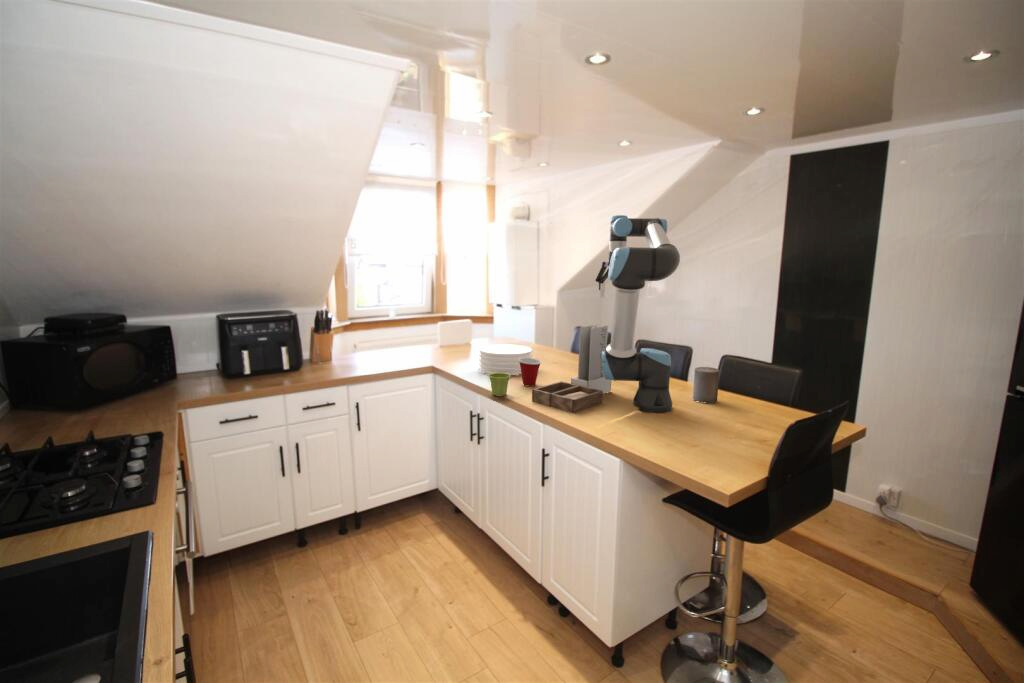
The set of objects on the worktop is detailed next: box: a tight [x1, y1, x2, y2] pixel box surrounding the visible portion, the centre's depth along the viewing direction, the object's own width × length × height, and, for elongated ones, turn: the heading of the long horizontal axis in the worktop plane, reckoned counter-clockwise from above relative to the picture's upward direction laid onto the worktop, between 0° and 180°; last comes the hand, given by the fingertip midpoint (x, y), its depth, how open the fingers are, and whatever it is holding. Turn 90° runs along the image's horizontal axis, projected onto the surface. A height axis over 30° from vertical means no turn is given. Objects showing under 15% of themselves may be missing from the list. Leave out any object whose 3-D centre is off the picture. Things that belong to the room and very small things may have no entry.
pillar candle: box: [692, 365, 720, 404], centre depth 193 cm, size 10×10×15 cm
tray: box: [531, 380, 604, 414], centre depth 185 cm, size 21×19×6 cm
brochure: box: [577, 324, 609, 381], centre depth 199 cm, size 14×6×30 cm, turn 140°
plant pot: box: [488, 373, 511, 397], centre depth 198 cm, size 9×9×9 cm
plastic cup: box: [519, 357, 542, 387], centre depth 215 cm, size 11×11×12 cm
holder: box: [570, 375, 612, 395], centre depth 201 cm, size 9×18×8 cm, turn 136°
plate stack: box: [479, 344, 533, 376], centre depth 245 cm, size 28×28×12 cm
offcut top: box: [562, 392, 588, 399], centre depth 182 cm, size 8×14×2 cm, turn 128°
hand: (615, 298), depth 210 cm, fingers open, 13 cm apart
